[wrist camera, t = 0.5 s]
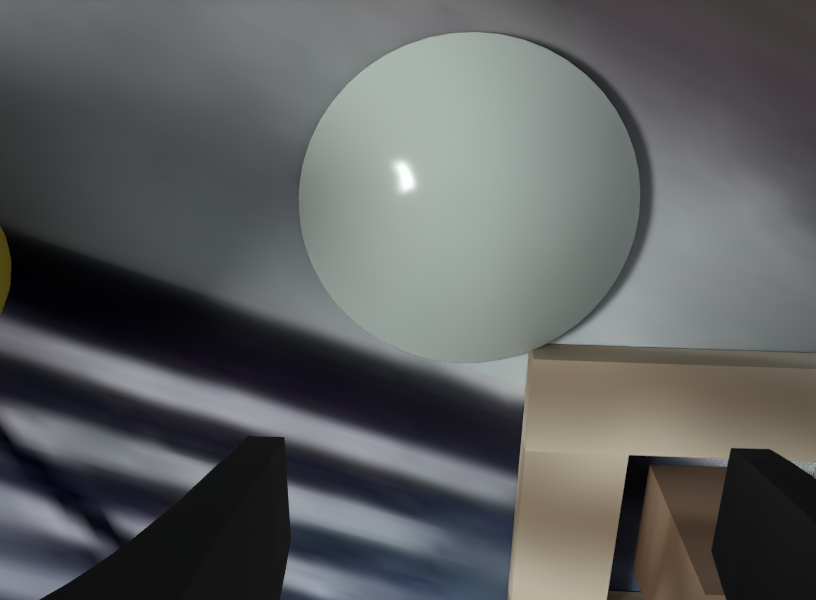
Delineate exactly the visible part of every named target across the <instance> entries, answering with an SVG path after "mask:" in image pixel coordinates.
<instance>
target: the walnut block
mask: <svg viewBox="0 0 816 600" xmlns="http://www.w3.org/2000/svg"><path fill="white" fill-rule="evenodd" d="M726 471H727V467H707V466H681V465H654V464H650V466H649V472H648V478H647V484H646V490H645V496H644V502H643V508H642V514H641V520H640V526H639V532H638V538H637V544H636V550H635V556H634V562H633V569H634V572H635V575H636V579H637V582H638V585H639V588H640V591H641V594H642V597H643V600H726V597H725V594H724V591H723V588H722V585H721V582H720V579H719V575H718V572H717V569H716V565H715V562H714V559H713V555H712V552H711V549H712V544H713V539H714V534H715V528H716V523H717V518H718V513H719V507H720V502H721V497H722V492H723V487H724V481H725V476H726Z"/></svg>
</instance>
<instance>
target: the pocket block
mask: <svg viewBox="0 0 816 600" xmlns="http://www.w3.org/2000/svg"><path fill="white" fill-rule="evenodd" d="M731 448H749V449H770V450H772V451H774V452H776V453H777V454H779V455H781V456H782V457H784V458H785V459H787V460H789V461H799V462H816V353H792V352H763V351H733V350H704V349H675V348H645V347H616V346H586V345H557V344H545V345H543V346H541V347H539V348H536V349H534V350H531V351H529V359H528V370H527V382H526V393H525V404H524V415H523V427H522V438H521V449H520V460H519V472H518V483H517V494H516V506H515V517H514V528H513V539H512V551H511V562H510V573H509V585H508V596H507V600H643V597H642V594H641V592H623V591H608V588H609V582H610V575H611V569H612V562H613V555H614V549H615V542H616V536H617V529H618V523H619V516H620V510H621V503H622V497H623V490H624V483H625V477H626V470H627V464H628V457H629V455H640V456H667V457H693V458H720V459H729V455H730V450H731ZM814 478H815V479H816V470H815V474H814Z"/></svg>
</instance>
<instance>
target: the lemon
mask: <svg viewBox="0 0 816 600" xmlns="http://www.w3.org/2000/svg"><path fill="white" fill-rule="evenodd" d="M10 281H11V257H10V253H9V248H8V244H7V240H6V236H5V234H4V232H3V230H2V228H1V226H0V315H1V313H2V310H3V307H4V304H5V301H6V298H7V295H8V292H9V288H10Z"/></svg>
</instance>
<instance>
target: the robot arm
mask: <svg viewBox="0 0 816 600" xmlns="http://www.w3.org/2000/svg"><path fill="white" fill-rule="evenodd" d="M290 541H291V533H290V518H289V503H288V487H287V472H286V457H285V441H284V437H254V436H247V437H246V438H245V439H244V440H243V441H242V442H241V443H240V444H239V445H237V446H236V447H235V448H234V449H233V450H232V451H231V452H230V453H229V454H228V455H227V456H226V457H225V458H224V459H223V460H222V461H221V462H219V463H218V464H217V465H216V466H215V467H214V468H213V469H212V470H211V471H210V472H209V473H208V474H207V475H206V476H205V477H204V478H203V479H202V480H201V481H200V482H199V483H197V484H196V485H195V486H194V487H193V488H192V489H191V490H190V491H189V492H188V493H186V494H185V495H184V496H183V497H182V498H181V499H180V500H179V501H178V502H177V503H175V504H174V505H173V506H172V507H171V508H170V509H169V510H167V511H166V512H165V513H164V514H163V515H161V516H160V517H159V518H158V519H156V520H155V521H154V522H153V523H152V524H150V525H149V526H148V527H147V528H145V529H144V530H143V531H142V532H141V533H139V534H138V535H137V536H136V537H135V538H133V539H132V540H131V541H129V542H128V543H127V544H125V545H124V546H123V547H121V548H120V549H118V550H117V551H116V552H114V553H113V554H111V555H110V556H109V557H107V558H106V559H104V560H103V561H101V562H100V563H98V564H97V565H95V566H94V567H92V568H91V569H89V570H88V571H86V572H85V573H83V574H82V575H81V576H79V577H77V578H76V579H74V580H73V581H71V582H69V583H68V584H66V585H64V586H63V587H61V588H59V589H57V590H56V591H54V592H52V593H50V594H49V595H47V596H45V597H43V598H42V599H40V600H279V599H280V595H281V591H282V585H283V580H284V575H285V570H286V564H287V558H288V552H289V547H290ZM711 552H712V555H713V559H714V562H715V565H716V569H717V572H718V575H719V579H720V582H721V585H722V588H723V591H724V594H725V597H726V600H816V479H815V478H814V477H812V476H811V475H809V474H808V473H806V472H805V471H803V470H802V469H801V468H799V467H798V466H796V465H795V464H793V463H792V462H790V461H789V460H787V459H785V458H784V457H782V456H781V455H779V454H777V453H776V452H774V451H772V450H770V449H749V448H731V450H730V455H729V460H728V466H727V471H726V476H725V481H724V487H723V492H722V497H721V502H720V507H719V513H718V518H717V523H716V528H715V534H714V539H713V544H712V549H711Z"/></svg>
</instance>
